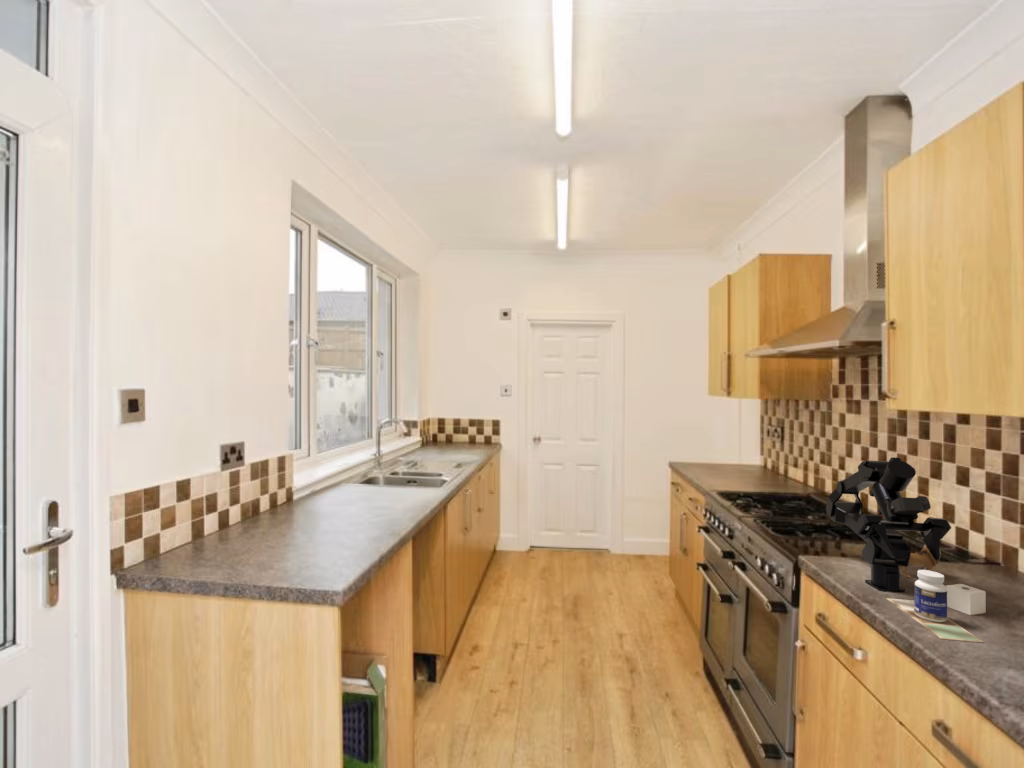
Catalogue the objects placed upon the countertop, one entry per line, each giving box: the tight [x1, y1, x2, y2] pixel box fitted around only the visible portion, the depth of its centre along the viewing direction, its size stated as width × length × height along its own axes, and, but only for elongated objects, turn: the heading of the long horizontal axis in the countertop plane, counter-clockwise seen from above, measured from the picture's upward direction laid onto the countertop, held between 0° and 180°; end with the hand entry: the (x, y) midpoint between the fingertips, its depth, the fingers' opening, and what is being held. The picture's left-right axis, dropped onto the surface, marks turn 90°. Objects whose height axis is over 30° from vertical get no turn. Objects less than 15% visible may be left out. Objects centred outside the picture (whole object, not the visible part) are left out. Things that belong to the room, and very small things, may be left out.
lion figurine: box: [901, 544, 942, 579], centre depth 142 cm, size 15×5×9 cm, turn 94°
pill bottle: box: [913, 569, 948, 622], centre depth 115 cm, size 6×6×10 cm
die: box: [945, 583, 987, 616], centre depth 120 cm, size 5×5×5 cm
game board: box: [886, 597, 984, 644], centre depth 115 cm, size 21×8×1 cm, turn 169°
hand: (915, 558), depth 120 cm, fingers open, 9 cm apart
